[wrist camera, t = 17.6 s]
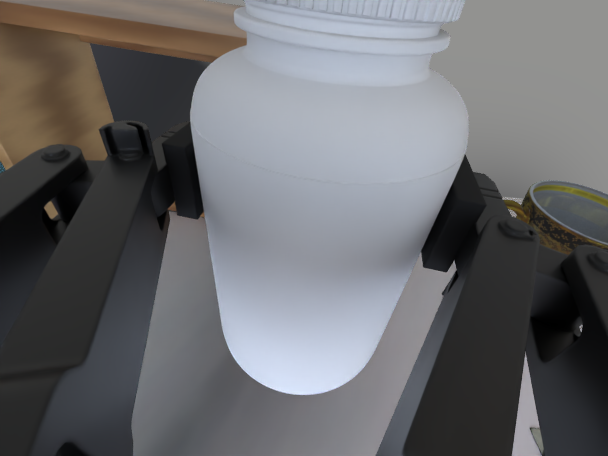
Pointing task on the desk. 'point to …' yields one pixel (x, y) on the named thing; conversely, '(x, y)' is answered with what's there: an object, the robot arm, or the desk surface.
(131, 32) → the open wooden shelf
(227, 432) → the desk surface
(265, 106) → the pill bottle
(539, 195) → the ceramic cup
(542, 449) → the eiffel tower souvenir
